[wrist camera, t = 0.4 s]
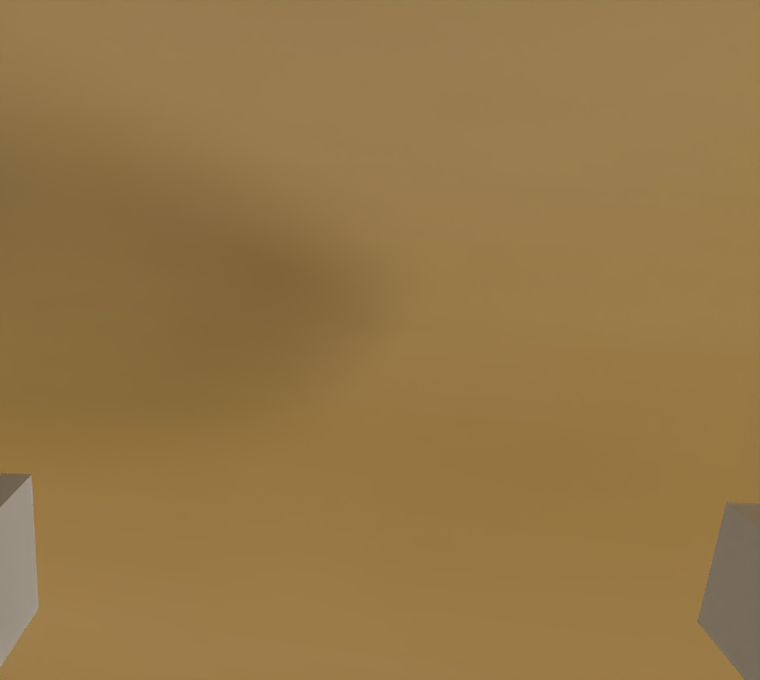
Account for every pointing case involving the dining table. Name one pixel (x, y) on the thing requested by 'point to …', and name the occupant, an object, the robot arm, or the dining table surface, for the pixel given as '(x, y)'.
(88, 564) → the dining table surface
